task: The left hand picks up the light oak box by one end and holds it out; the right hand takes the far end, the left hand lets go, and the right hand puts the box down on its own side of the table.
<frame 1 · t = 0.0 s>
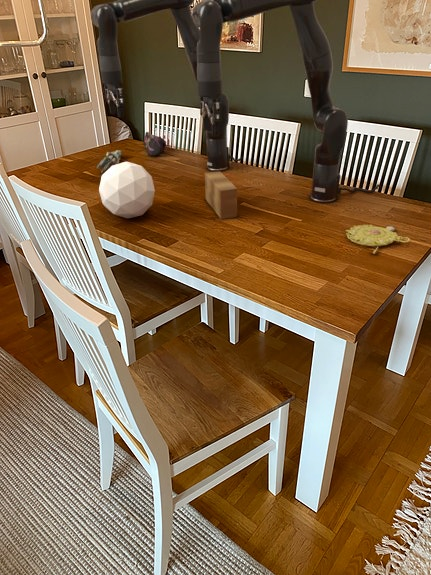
left hand: (117, 115, 171), 29 cm above the table, tool pointing down, fingers open, 8 cm apart
right hand: (211, 133, 143), 29 cm above the table, tool pointing down, fingers open, 8 cm apart
decorative object: (375, 239, 141), on the table
figurine: (111, 165, 215), on the table
box: (220, 207, 166), on the table
sphere: (130, 215, 162), on the table
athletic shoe: (157, 152, 232), on the table
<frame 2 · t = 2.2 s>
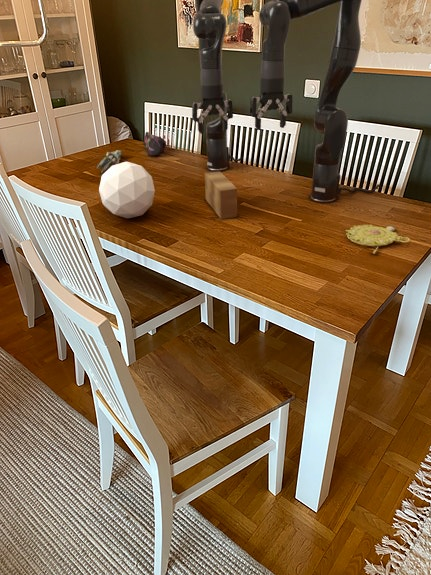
left hand: (213, 132, 158), 26 cm above the table, tool pointing down, fingers open, 8 cm apart
right hand: (270, 128, 150), 29 cm above the table, tool pointing down, fingers open, 8 cm apart
nothing on the table moved.
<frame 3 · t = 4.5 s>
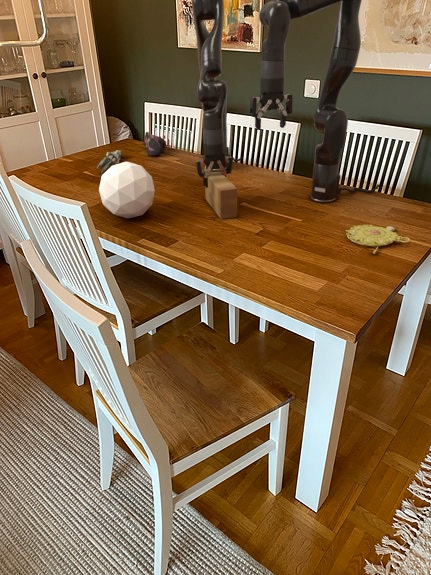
left hand: (214, 185, 169), 6 cm above the table, tool pointing down, fingers closed on box, 6 cm apart
right hand: (270, 128, 150), 29 cm above the table, tool pointing down, fingers open, 8 cm apart
box: (220, 207, 166), on the table, touching left hand
everything else where it was.
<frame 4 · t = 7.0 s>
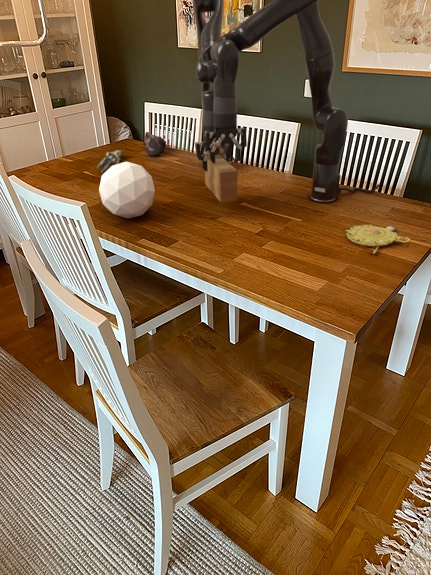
left hand: (214, 169, 165), 13 cm above the table, tool pointing down, fingers closed on box, 6 cm apart
right hand: (225, 161, 150), 19 cm above the table, tool pointing down, fingers open, 8 cm apart
box: (220, 191, 163), point 6 cm above the table, touching left hand
everything else where it was.
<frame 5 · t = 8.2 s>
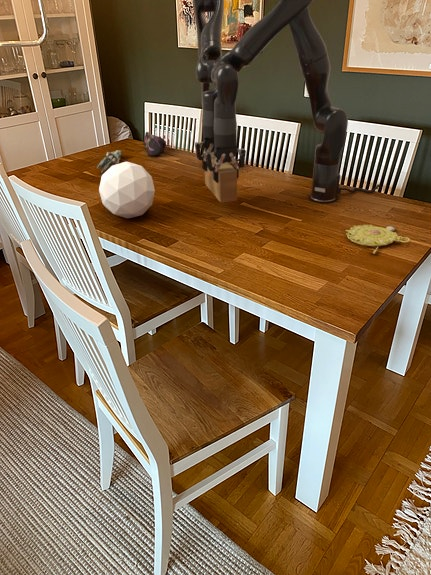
left hand: (214, 169, 165), 13 cm above the table, tool pointing down, fingers closed on box, 6 cm apart
right hand: (226, 180, 154), 13 cm above the table, tool pointing down, fingers closed on box, 6 cm apart
box: (220, 191, 163), point 6 cm above the table, touching left hand, right hand
everything else where it was.
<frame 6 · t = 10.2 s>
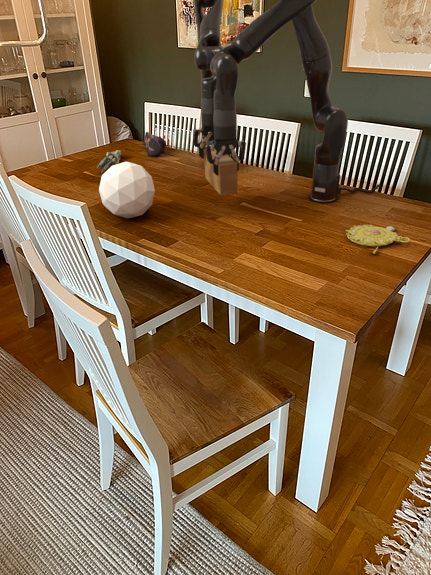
left hand: (213, 156, 164), 17 cm above the table, tool pointing down, fingers open, 8 cm apart
right hand: (226, 173, 152), 15 cm above the table, tool pointing down, fingers closed on box, 6 cm apart
box: (220, 184, 162), point 9 cm above the table, touching right hand
everything else where it was.
when the right hand's fingers open (8 cm above the table, at t = 13.1 s): box drops 2 cm, on the table.
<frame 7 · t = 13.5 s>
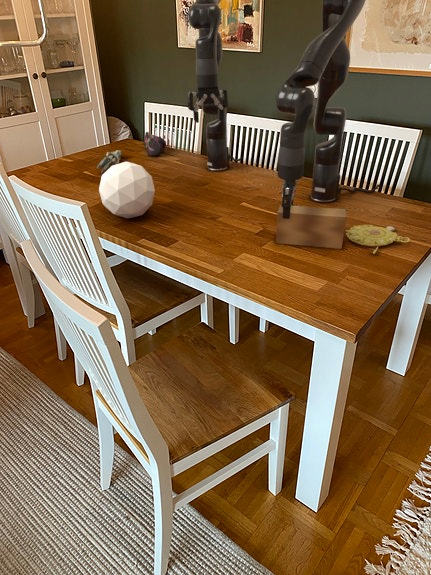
left hand: (208, 121, 161), 29 cm above the table, tool pointing down, fingers open, 8 cm apart
right hand: (287, 212, 137), 9 cm above the table, tool pointing down, fingers open, 8 cm apart
box: (308, 241, 141), on the table
everything else where it was.
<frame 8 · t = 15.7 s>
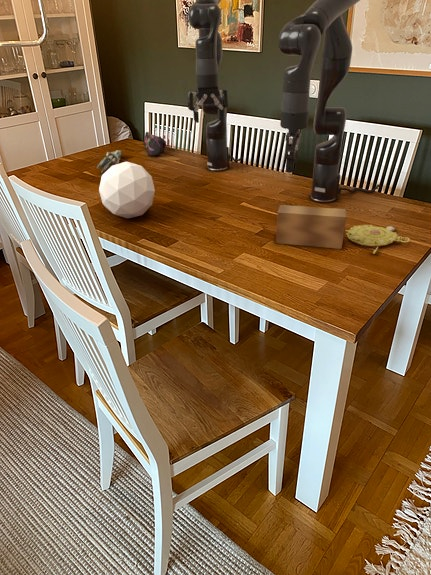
left hand: (208, 121, 161), 29 cm above the table, tool pointing down, fingers open, 8 cm apart
right hand: (291, 167, 129), 24 cm above the table, tool pointing down, fingers open, 8 cm apart
nothing on the table moved.
at the end: box inside the target area (7.2 cm from its centre), on the table; the left hand is holding nothing; the right hand is holding nothing; box at rest at the end (0.0 cm/s) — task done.
